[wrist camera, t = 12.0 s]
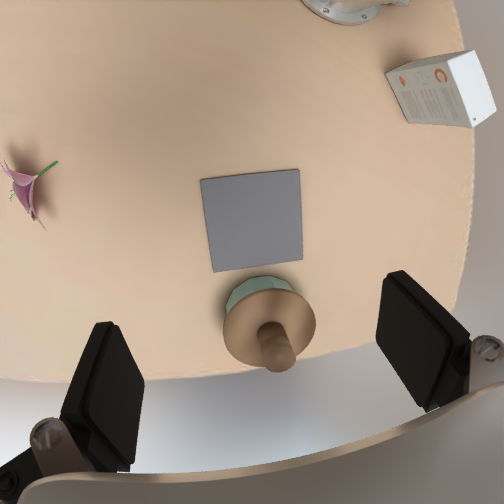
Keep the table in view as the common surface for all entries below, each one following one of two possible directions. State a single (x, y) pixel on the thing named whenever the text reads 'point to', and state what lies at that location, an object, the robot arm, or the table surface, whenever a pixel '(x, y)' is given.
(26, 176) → the lily
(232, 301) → the bowl
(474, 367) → the robot arm
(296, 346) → the lid
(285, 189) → the mat
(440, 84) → the small box
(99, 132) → the table surface
